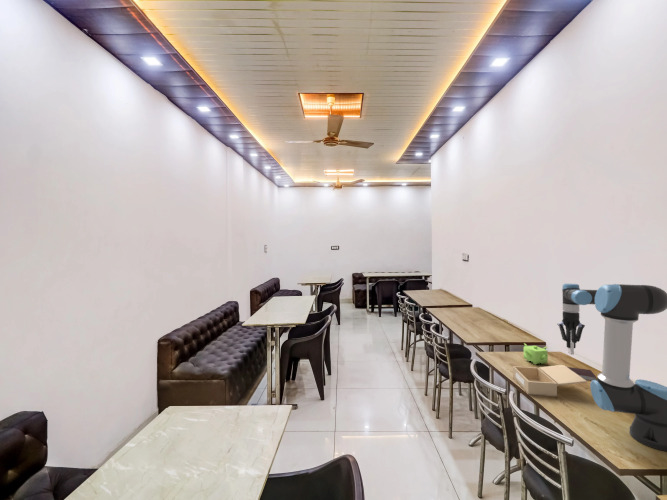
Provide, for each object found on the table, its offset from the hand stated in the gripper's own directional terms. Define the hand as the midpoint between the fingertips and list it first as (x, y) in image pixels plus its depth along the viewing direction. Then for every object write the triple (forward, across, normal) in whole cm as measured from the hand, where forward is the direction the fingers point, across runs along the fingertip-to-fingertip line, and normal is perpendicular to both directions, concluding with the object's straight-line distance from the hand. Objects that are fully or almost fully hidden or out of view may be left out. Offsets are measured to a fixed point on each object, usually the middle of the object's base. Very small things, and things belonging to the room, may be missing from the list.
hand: (571, 353), depth 177 cm
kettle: (+20, +1, -42) cm, 46 cm away
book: (+20, -13, -23) cm, 33 cm away
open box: (+20, +19, -1) cm, 28 cm away
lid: (+12, +5, -1) cm, 13 cm away
